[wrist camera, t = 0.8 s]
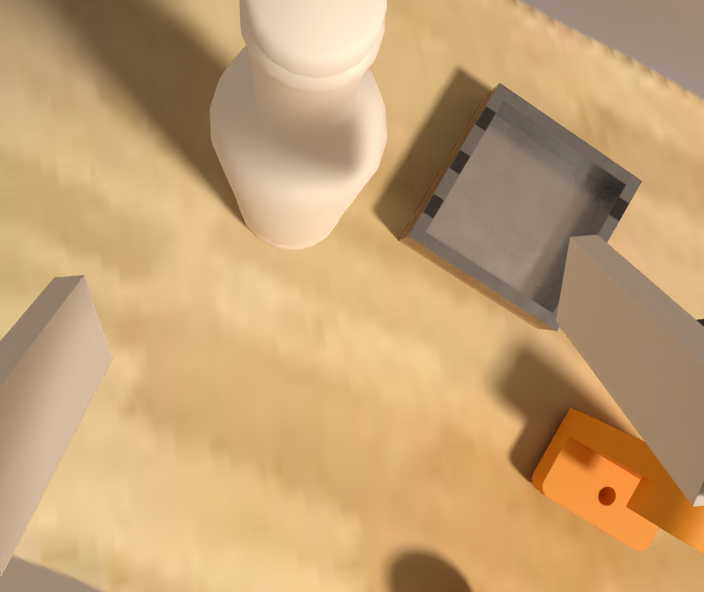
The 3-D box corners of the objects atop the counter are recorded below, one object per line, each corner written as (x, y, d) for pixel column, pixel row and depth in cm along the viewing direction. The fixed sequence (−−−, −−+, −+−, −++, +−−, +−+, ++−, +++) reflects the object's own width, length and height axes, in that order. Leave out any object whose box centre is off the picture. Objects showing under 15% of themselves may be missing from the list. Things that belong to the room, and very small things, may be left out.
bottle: (218, 196, 42) (73, -43, 12) (293, 131, 43) (325, -240, 13) (288, 272, 43) (308, 218, 13) (360, 207, 44) (533, 16, 14)
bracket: (522, 480, 46) (608, 545, 34) (564, 405, 46) (664, 443, 34) (623, 540, 47) (740, 623, 35) (663, 467, 47) (792, 524, 35)
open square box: (398, 240, 44) (408, 236, 41) (483, 98, 45) (500, 82, 42) (537, 328, 46) (557, 330, 42) (616, 189, 47) (642, 180, 43)
